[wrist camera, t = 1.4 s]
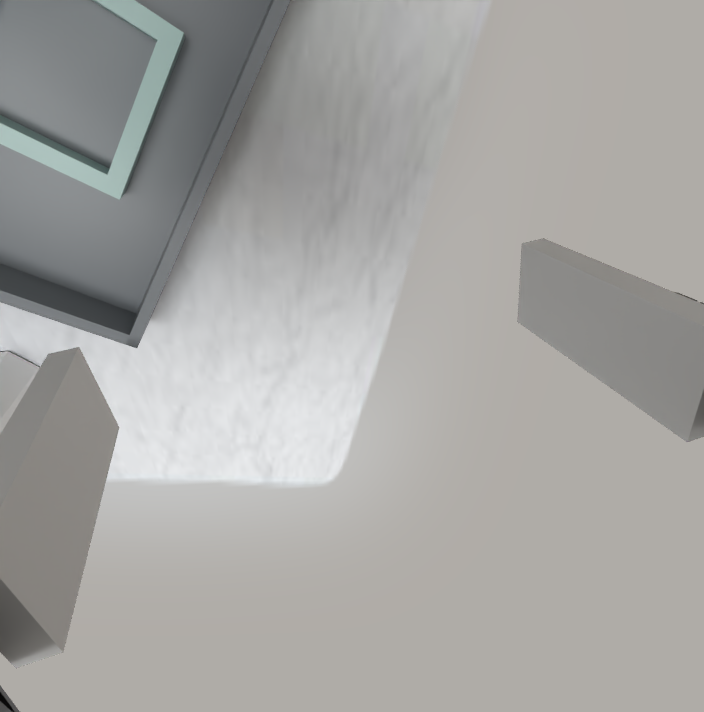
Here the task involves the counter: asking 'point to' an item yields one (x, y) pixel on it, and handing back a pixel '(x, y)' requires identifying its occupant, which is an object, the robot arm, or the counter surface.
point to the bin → (114, 145)
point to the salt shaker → (13, 383)
